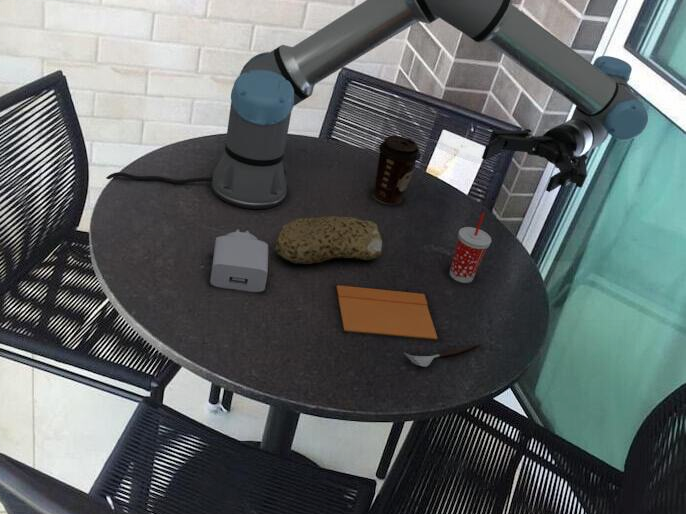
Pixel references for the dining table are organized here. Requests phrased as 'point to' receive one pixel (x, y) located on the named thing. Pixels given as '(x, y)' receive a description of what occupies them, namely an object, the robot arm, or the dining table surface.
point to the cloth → (385, 312)
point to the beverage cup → (469, 252)
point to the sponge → (328, 239)
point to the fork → (439, 355)
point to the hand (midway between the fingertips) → (517, 168)
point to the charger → (240, 262)
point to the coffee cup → (394, 169)
